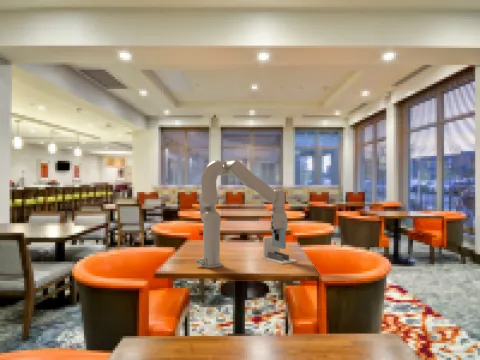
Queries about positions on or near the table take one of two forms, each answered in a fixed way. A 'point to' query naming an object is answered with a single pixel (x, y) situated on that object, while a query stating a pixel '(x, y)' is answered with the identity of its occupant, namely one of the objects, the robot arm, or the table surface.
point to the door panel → (280, 239)
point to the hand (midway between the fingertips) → (278, 239)
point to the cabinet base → (274, 253)
